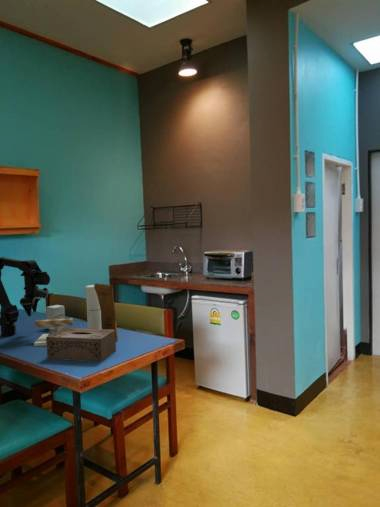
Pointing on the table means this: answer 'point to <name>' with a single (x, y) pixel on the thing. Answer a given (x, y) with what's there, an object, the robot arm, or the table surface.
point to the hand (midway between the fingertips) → (32, 314)
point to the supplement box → (55, 313)
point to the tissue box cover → (81, 344)
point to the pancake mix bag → (106, 307)
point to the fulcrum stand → (42, 339)
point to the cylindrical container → (93, 308)
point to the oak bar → (54, 322)
